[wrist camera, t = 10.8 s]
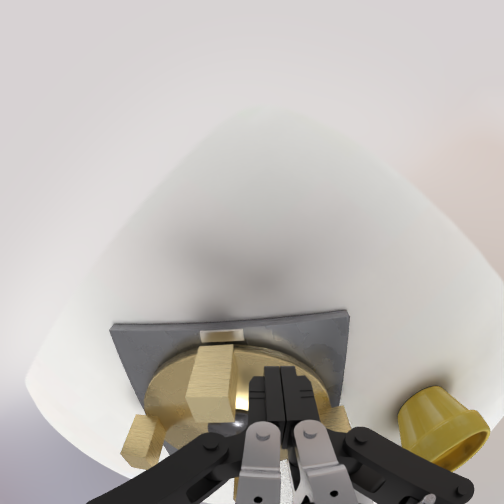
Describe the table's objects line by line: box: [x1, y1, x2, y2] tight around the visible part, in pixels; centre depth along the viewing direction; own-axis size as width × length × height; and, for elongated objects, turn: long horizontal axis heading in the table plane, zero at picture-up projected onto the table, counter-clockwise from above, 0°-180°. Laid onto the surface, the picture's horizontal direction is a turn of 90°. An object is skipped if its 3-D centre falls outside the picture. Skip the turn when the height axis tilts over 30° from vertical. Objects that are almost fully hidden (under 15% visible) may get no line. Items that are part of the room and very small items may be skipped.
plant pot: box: [398, 386, 490, 472], centre depth 20 cm, size 10×10×10 cm
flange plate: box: [109, 310, 350, 455], centre depth 23 cm, size 19×19×1 cm
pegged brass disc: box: [120, 344, 351, 502], centre depth 19 cm, size 19×19×6 cm
